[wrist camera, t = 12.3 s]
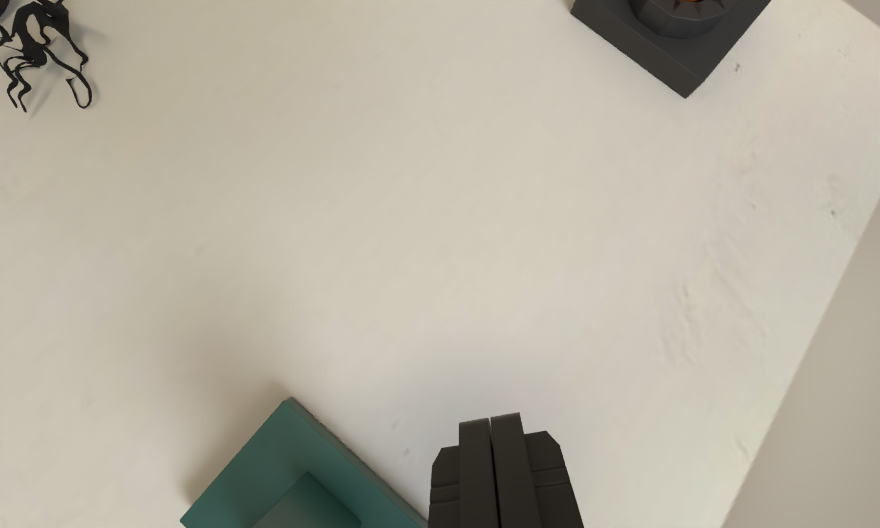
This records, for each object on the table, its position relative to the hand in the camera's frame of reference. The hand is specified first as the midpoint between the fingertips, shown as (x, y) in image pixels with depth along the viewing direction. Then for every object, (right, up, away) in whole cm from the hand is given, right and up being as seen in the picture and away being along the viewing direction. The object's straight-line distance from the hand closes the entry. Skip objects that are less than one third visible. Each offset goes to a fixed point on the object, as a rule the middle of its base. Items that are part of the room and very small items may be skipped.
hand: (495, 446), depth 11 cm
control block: (+14, +22, +21) cm, 33 cm away
